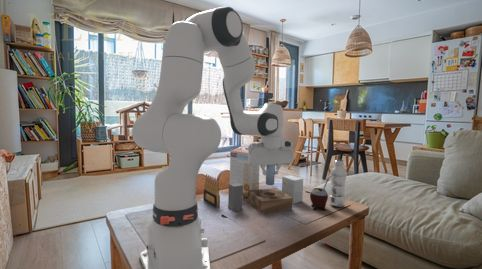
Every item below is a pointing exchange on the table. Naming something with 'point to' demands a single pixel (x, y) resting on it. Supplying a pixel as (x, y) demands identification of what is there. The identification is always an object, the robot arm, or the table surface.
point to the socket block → (269, 200)
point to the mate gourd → (319, 197)
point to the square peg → (235, 196)
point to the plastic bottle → (338, 184)
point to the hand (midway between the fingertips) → (270, 174)
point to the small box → (293, 187)
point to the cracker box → (243, 171)
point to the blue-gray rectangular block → (270, 174)
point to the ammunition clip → (211, 191)
